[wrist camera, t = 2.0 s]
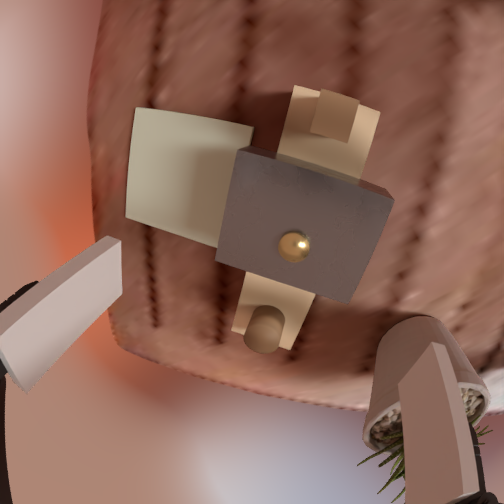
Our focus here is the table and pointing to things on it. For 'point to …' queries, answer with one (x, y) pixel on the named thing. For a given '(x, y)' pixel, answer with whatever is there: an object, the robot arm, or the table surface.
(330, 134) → the body
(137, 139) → the felt pad
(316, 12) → the table surface
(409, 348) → the potted plant
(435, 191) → the table surface
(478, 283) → the table surface
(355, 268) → the grey block with knob
